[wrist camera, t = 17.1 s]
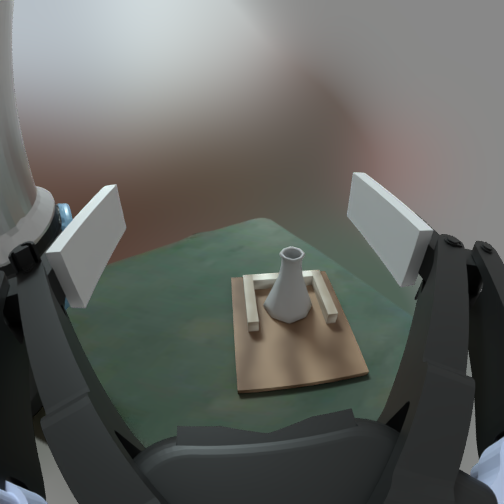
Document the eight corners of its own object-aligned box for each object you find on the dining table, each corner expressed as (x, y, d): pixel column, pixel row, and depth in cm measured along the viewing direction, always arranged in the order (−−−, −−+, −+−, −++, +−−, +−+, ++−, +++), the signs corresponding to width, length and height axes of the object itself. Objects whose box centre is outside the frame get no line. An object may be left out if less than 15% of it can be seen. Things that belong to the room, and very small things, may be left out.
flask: (319, 306, 42) (329, 253, 37) (289, 331, 38) (296, 277, 33) (285, 285, 47) (289, 233, 41) (254, 306, 43) (254, 252, 37)
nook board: (238, 393, 31) (236, 382, 29) (231, 281, 49) (230, 268, 48) (366, 374, 32) (373, 363, 30) (324, 274, 50) (326, 262, 49)
